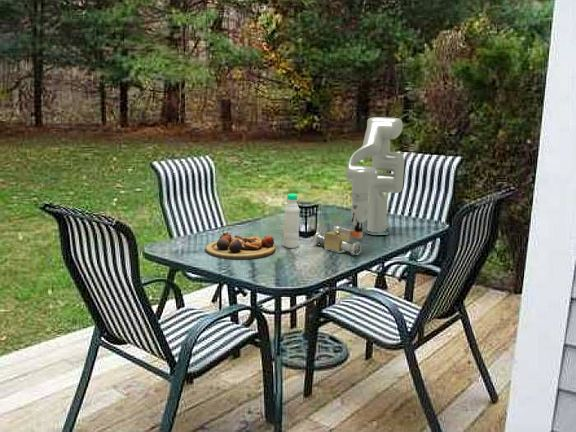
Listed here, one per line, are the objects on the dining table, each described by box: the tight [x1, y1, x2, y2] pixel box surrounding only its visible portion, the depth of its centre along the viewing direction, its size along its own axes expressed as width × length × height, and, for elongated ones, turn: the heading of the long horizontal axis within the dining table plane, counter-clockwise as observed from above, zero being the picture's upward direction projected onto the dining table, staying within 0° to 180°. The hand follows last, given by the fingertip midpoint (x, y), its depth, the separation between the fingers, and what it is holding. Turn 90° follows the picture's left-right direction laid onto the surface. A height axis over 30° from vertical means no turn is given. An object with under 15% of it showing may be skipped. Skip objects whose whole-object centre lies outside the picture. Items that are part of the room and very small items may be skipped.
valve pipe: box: [312, 230, 363, 255], centre depth 288 cm, size 7×24×9 cm, turn 44°
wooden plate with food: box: [205, 231, 276, 260], centre depth 284 cm, size 32×32×8 cm
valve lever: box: [333, 225, 364, 240], centre depth 282 cm, size 16×4×3 cm, turn 43°
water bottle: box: [283, 193, 301, 249], centre depth 290 cm, size 7×7×25 cm
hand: (358, 236), depth 283 cm, fingers closed
